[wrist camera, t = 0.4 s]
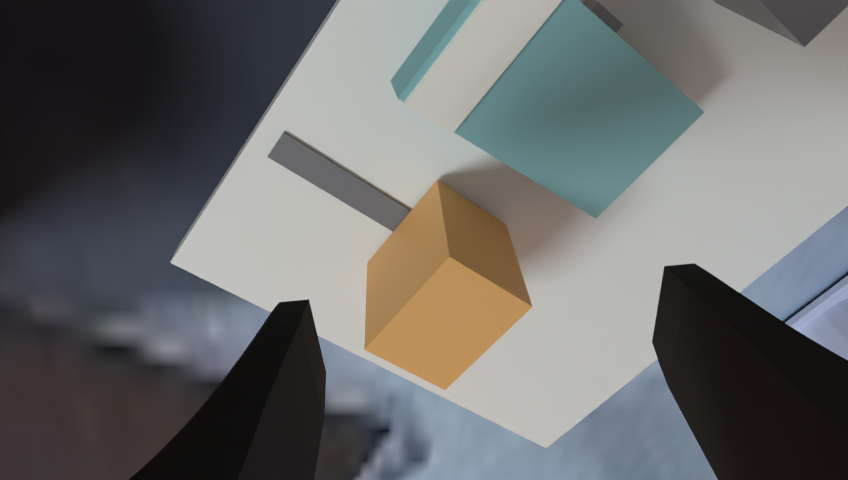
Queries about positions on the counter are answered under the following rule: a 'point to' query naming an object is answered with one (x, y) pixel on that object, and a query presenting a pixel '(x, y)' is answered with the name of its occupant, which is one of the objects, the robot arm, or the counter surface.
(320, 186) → the panel
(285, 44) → the counter surface
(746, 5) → the charcoal fader
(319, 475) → the counter surface
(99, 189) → the counter surface
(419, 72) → the teal flat block
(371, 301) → the block
